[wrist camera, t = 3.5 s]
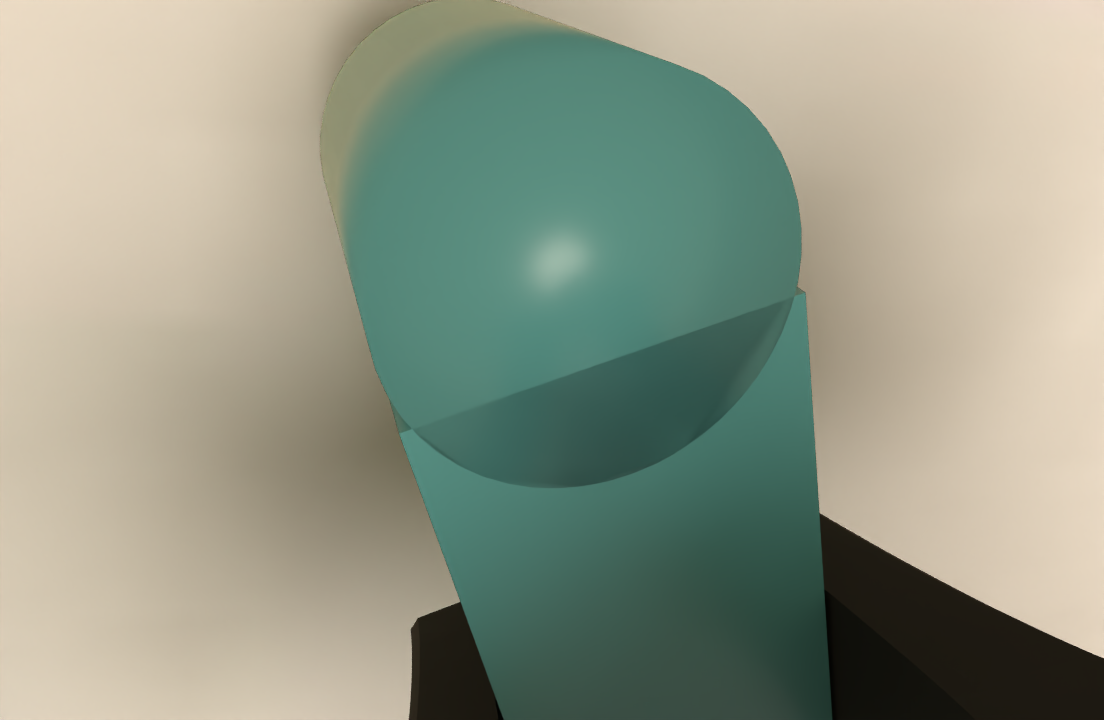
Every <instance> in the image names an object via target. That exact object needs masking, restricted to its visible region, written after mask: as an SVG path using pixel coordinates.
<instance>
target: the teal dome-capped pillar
mask: <svg viewBox="0 0 1104 720" xmlns="http://www.w3.org/2000/svg"><path fill="white" fill-rule="evenodd" d="M320 157H321V164H322V171H323V177H324V181H325V184H326V188H327V192H328V195H329V199H330V203H331V207H332V210H333V214H334V218H335V222H336V225H337V229H338V233H339V237H340V240H341V244H342V248H343V251H344V255H345V259H346V263H347V266H348V270H349V274H350V278H351V281H352V285H353V289H354V293H355V296H356V300H357V304H358V307H359V311H360V315H361V319H362V322H363V326H364V330H365V334H366V337H367V341H368V345H369V348H370V352H371V355H372V359H373V362H374V366H375V369H376V372H377V374H378V376H379V378H380V381H381V383H382V385H383V387H384V389H385V392H386V394H387V396H388V397H389V400H390V403H391V407H392V411H393V414H394V418H395V421H396V425H397V428H398V432H399V435H400V438H401V440H402V443H403V446H404V449H405V451H406V454H407V457H408V460H409V462H410V465H411V468H412V471H413V473H414V476H415V479H416V481H417V484H418V487H419V490H420V492H421V495H422V498H423V501H424V503H425V506H426V509H427V511H428V514H429V517H430V520H431V522H432V525H433V528H434V531H435V533H436V536H437V539H438V541H439V544H440V547H441V550H442V552H443V555H444V558H445V561H446V563H447V566H448V569H449V571H450V574H451V577H452V580H453V582H454V585H455V588H456V591H457V593H458V596H459V599H460V602H461V604H462V607H463V610H464V612H465V615H466V618H467V621H468V623H469V626H470V629H471V632H472V634H473V637H474V640H475V642H476V645H477V648H478V651H479V653H480V656H481V659H482V662H483V664H484V667H485V670H486V672H487V675H488V678H489V681H490V683H491V686H492V689H493V692H494V694H495V697H496V700H497V702H498V705H499V708H500V711H501V713H502V716H503V719H504V720H832V707H831V691H830V675H829V659H828V643H827V628H826V612H825V596H824V580H823V564H822V548H821V532H820V516H819V501H818V485H817V469H816V453H815V437H814V421H813V405H812V389H811V373H810V358H809V342H808V326H807V310H806V294H805V292H804V291H802V290H801V289H799V288H798V287H797V283H798V277H799V269H800V261H801V222H800V214H799V206H798V200H797V196H796V193H795V189H794V185H793V182H792V178H791V175H790V173H789V170H788V168H787V166H786V163H785V161H784V159H783V156H782V154H781V152H780V150H779V149H778V147H777V145H776V144H775V142H774V141H773V139H772V137H771V136H770V134H769V133H768V131H767V129H766V128H765V127H764V126H763V125H762V123H761V122H760V121H759V120H758V119H757V118H756V116H755V115H754V114H753V113H752V112H751V111H750V109H749V108H748V107H746V106H745V105H744V104H743V103H742V102H741V101H739V100H738V99H737V98H736V97H735V96H733V95H732V94H731V93H730V92H729V91H728V90H726V89H724V88H723V87H721V86H719V85H718V84H716V83H715V82H713V81H711V80H710V79H708V78H706V77H705V76H703V75H701V74H698V73H696V72H693V71H691V70H688V69H686V68H683V67H681V66H679V65H676V64H673V63H671V62H668V61H665V60H662V59H659V58H657V57H654V56H651V55H648V54H645V53H643V52H640V51H637V50H634V49H632V48H629V47H626V46H623V45H620V44H618V43H615V42H612V41H609V40H606V39H604V38H601V37H598V36H595V35H592V34H590V33H587V32H584V31H581V30H579V29H576V28H573V27H570V26H567V25H565V24H562V23H559V22H556V21H553V20H551V19H548V18H545V17H542V16H539V15H537V14H534V13H531V12H528V11H525V10H523V9H520V8H517V7H514V6H512V5H509V4H505V3H501V2H497V1H493V0H437V1H431V2H427V3H424V4H421V5H419V6H416V7H413V8H410V9H408V10H406V11H404V12H402V13H400V14H398V15H396V16H394V17H392V18H391V19H389V20H388V21H386V22H385V23H384V24H382V25H381V26H379V27H378V28H376V29H375V30H374V31H373V32H372V33H371V34H370V35H369V36H367V37H366V38H365V39H364V40H363V41H362V42H361V43H360V44H359V45H358V47H357V48H356V49H355V50H354V52H353V53H352V54H351V55H350V57H349V58H348V59H347V60H346V62H345V64H344V65H343V67H342V69H341V70H340V72H339V74H338V75H337V77H336V79H335V82H334V84H333V86H332V89H331V91H330V93H329V96H328V99H327V103H326V106H325V110H324V114H323V119H322V126H321V134H320Z"/></svg>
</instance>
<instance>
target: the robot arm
mask: <svg viewBox="0 0 1104 720" xmlns="http://www.w3.org/2000/svg"><path fill="white" fill-rule="evenodd" d="M819 516H820V532H821V548H822V564H823V580H824V596H825V612H826V628H827V643H828V659H829V675H830V691H831V707H832V720H1104V658H1101V657H1099V656H1096V655H1094V654H1092V653H1089V652H1087V651H1085V650H1083V649H1080V648H1078V647H1076V646H1073V645H1071V644H1069V643H1067V642H1065V641H1062V640H1060V639H1058V638H1056V637H1053V636H1051V635H1049V634H1047V633H1045V632H1043V631H1040V630H1038V629H1036V628H1034V627H1032V626H1030V625H1028V624H1026V623H1024V622H1022V621H1019V620H1017V619H1015V618H1013V617H1011V616H1009V615H1007V614H1005V613H1003V612H1001V611H999V610H996V609H994V608H992V607H990V606H988V605H986V604H984V603H982V602H980V601H978V600H977V599H975V598H973V597H971V596H969V595H967V594H965V593H963V592H961V591H959V590H957V589H955V588H953V587H951V586H949V585H947V584H946V583H944V582H942V581H940V580H938V579H936V578H934V577H932V576H931V575H929V574H927V573H925V572H923V571H921V570H919V569H917V568H916V567H914V566H912V565H910V564H908V563H906V562H904V561H902V560H901V559H899V558H897V557H895V556H893V555H892V554H890V553H888V552H886V551H884V550H883V549H881V548H879V547H877V546H875V545H874V544H872V543H870V542H868V541H867V540H865V539H863V538H861V537H860V536H858V535H856V534H855V533H853V532H851V531H849V530H848V529H846V528H844V527H842V526H841V525H839V524H837V523H835V522H834V521H832V520H830V519H829V518H827V517H825V516H823V515H822V514H820V513H819ZM411 639H412V685H411V702H410V714H409V720H504V719H503V716H502V713H501V711H500V708H499V705H498V702H497V700H496V697H495V694H494V692H493V689H492V686H491V683H490V681H489V678H488V675H487V672H486V670H485V667H484V664H483V662H482V659H481V656H480V653H479V651H478V648H477V645H476V642H475V640H474V637H473V634H472V632H471V629H470V626H469V623H468V621H467V618H466V615H465V612H464V610H463V607H462V604H461V602H459V603H456V604H454V605H451V606H448V607H446V608H443V609H441V610H438V611H435V612H433V613H430V614H427V615H425V616H422V617H420V618H418V619H417V621H416V622H415V624H414V625H413V627H412V628H411Z"/></svg>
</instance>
